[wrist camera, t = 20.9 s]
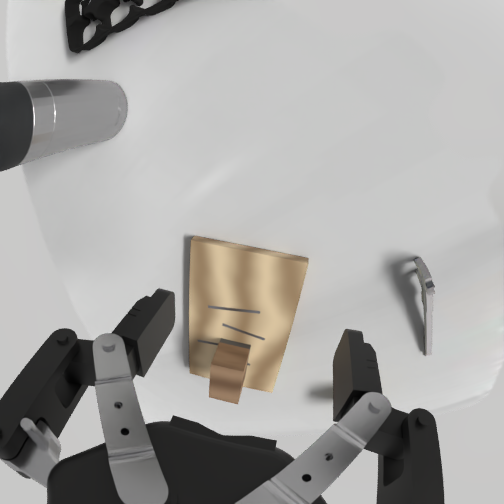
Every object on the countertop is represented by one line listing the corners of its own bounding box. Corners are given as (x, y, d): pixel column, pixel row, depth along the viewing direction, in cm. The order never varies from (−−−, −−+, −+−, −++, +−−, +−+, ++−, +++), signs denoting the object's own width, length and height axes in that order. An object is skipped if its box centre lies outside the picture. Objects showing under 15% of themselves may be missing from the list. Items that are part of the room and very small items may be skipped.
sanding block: (244, 378, 51) (237, 404, 46) (217, 372, 51) (208, 397, 46) (251, 344, 47) (243, 371, 42) (220, 338, 47) (210, 363, 42)
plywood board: (192, 367, 54) (189, 373, 53) (194, 235, 42) (190, 240, 40) (273, 386, 53) (272, 392, 52) (308, 258, 40) (308, 263, 39)
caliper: (412, 257, 37) (426, 280, 32) (419, 255, 37) (434, 277, 32) (424, 354, 44) (433, 380, 39) (430, 352, 44) (439, 378, 38)
